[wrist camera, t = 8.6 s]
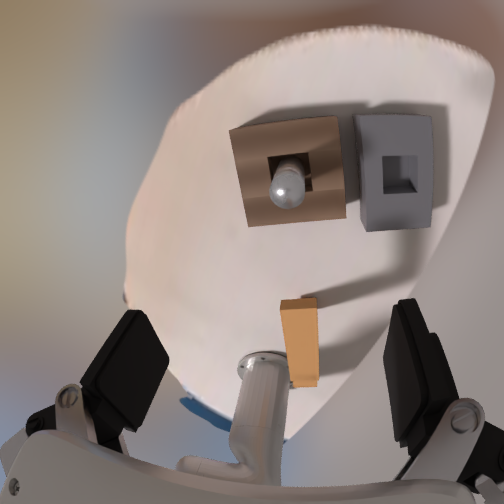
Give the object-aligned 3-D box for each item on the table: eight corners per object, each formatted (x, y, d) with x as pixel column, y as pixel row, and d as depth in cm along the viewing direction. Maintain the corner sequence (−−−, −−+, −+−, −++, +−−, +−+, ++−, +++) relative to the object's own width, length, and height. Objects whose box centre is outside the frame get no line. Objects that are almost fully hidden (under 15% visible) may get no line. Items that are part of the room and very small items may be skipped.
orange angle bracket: (318, 311, 44) (318, 386, 32) (297, 312, 45) (291, 387, 32) (313, 237, 38) (316, 307, 25) (288, 239, 39) (279, 310, 26)
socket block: (342, 206, 35) (346, 218, 32) (253, 214, 38) (248, 227, 35) (332, 115, 30) (337, 116, 26) (236, 127, 33) (228, 130, 29)
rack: (419, 215, 34) (430, 227, 30) (360, 219, 36) (366, 231, 32) (418, 114, 27) (431, 116, 24) (352, 114, 29) (359, 115, 26)
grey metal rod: (305, 179, 33) (306, 207, 25) (280, 181, 34) (271, 210, 26) (302, 154, 32) (303, 173, 23) (276, 157, 33) (266, 176, 24)
